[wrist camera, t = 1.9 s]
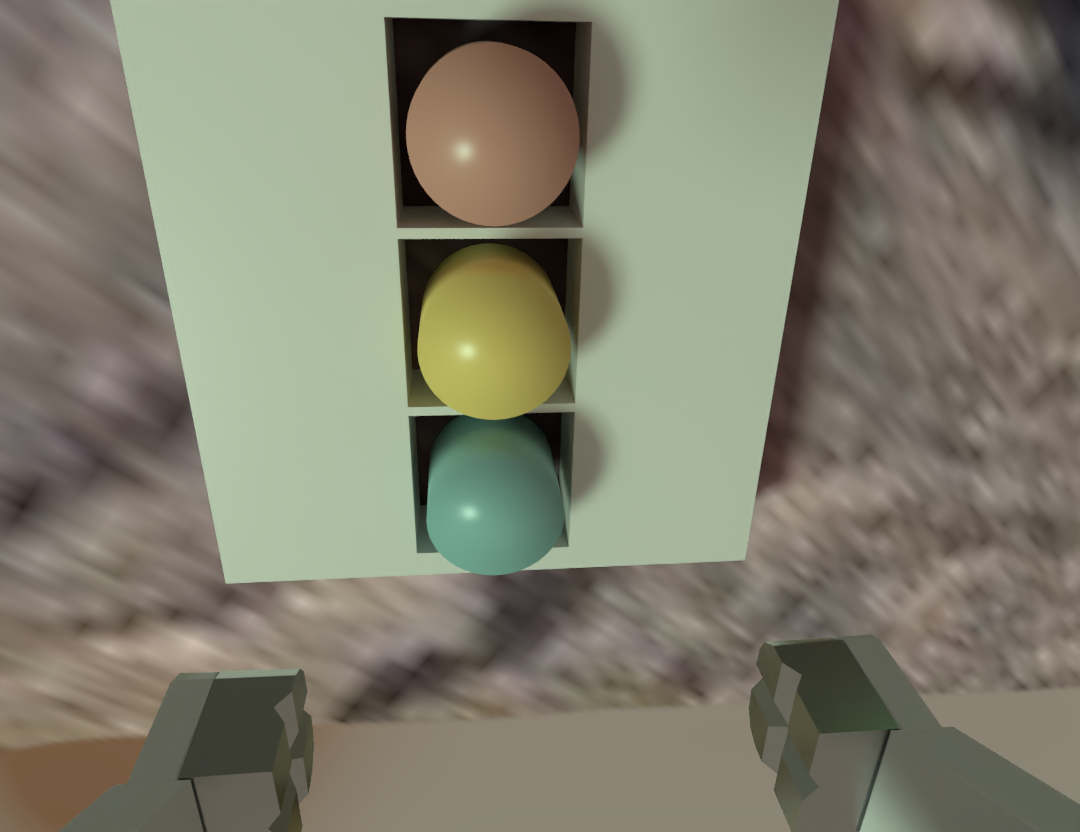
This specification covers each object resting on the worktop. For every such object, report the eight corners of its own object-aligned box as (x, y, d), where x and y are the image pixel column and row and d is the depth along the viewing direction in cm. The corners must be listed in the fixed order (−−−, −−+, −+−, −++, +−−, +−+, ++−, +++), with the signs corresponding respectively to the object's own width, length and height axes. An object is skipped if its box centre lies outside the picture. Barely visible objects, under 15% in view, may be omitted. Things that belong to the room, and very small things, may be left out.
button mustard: (558, 242, 24) (574, 275, 21) (554, 370, 26) (568, 418, 22) (418, 243, 23) (413, 276, 20) (424, 372, 25) (421, 421, 22)
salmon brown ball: (564, 42, 21) (583, 45, 18) (559, 199, 23) (576, 226, 20) (408, 38, 21) (400, 41, 18) (416, 199, 23) (410, 226, 20)
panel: (795, -8, 23) (841, -12, 20) (719, 513, 31) (744, 560, 28) (148, -26, 21) (103, -33, 18) (246, 532, 29) (225, 583, 26)
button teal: (553, 406, 26) (566, 457, 23) (550, 511, 28) (562, 571, 25) (427, 409, 26) (423, 461, 23) (432, 515, 28) (429, 578, 24)
